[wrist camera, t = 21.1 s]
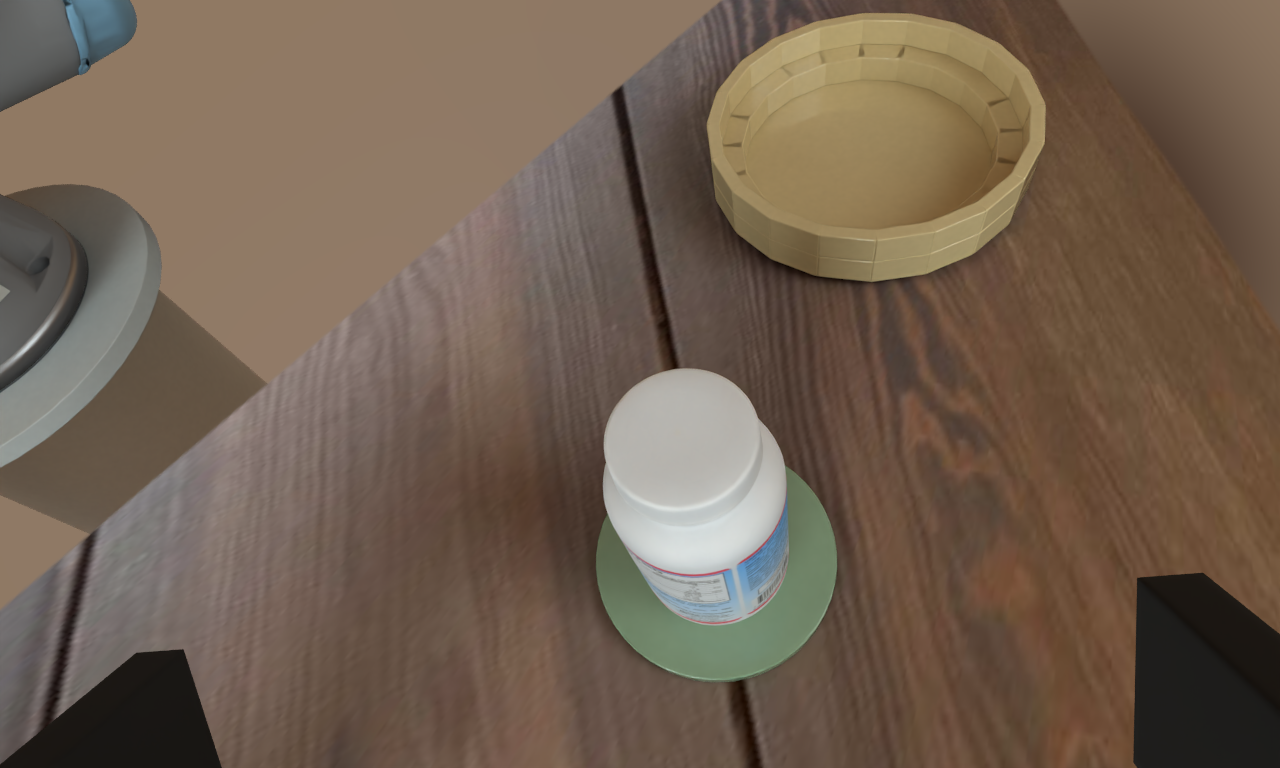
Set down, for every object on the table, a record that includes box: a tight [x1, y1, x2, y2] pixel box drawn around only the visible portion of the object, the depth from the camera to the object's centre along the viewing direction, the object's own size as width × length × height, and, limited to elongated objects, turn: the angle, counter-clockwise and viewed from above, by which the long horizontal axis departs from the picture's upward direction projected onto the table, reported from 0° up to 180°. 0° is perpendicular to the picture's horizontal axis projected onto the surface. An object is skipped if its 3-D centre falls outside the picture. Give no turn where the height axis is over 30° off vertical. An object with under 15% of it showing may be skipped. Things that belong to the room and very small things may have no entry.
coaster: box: [596, 465, 837, 682], centre depth 32 cm, size 10×10×1 cm
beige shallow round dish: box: [706, 13, 1046, 282], centre depth 40 cm, size 16×16×4 cm
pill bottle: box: [603, 368, 789, 625], centre depth 27 cm, size 6×6×11 cm
